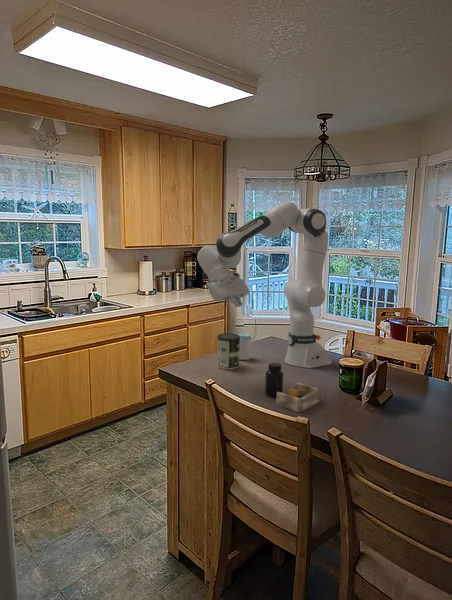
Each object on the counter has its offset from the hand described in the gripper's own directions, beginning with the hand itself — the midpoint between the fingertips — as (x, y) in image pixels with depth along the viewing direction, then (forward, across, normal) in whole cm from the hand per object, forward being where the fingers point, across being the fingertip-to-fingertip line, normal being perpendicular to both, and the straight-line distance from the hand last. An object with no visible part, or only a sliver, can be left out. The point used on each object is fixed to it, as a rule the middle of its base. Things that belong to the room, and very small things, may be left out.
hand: (239, 306), depth 174 cm
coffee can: (+12, +11, +32) cm, 36 cm away
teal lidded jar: (+11, +25, +33) cm, 43 cm away
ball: (+40, -1, +1) cm, 40 cm away
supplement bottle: (+36, -2, +8) cm, 37 cm away
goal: (+44, -2, +1) cm, 44 cm away
